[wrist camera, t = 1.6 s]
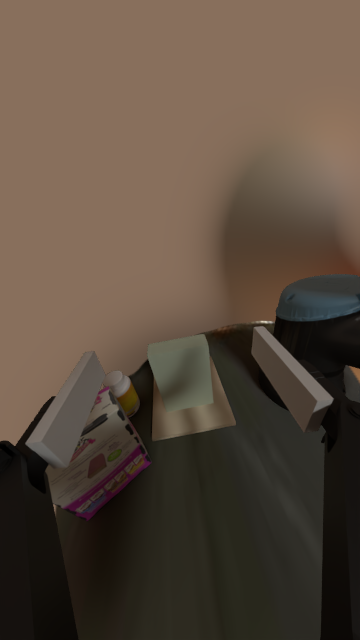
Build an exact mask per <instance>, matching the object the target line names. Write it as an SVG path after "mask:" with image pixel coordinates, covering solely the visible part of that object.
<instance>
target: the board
mask: <svg viewBox="0 0 360 640" xmlns="http://www.w3.org/2000/svg"><path fill="white" fill-rule="evenodd" d="M209 359H210V370H211V381H212V391H213V402H214V403H212V404H206V405H201V406H196V407H191V408H186V409H181V410H176V411H171V412H167V411H166V409H165V406H164V403H163V400H162V397H161V394H160V391H159V389H158V386H157V383H156V380H155V377H154V392H153V420H152V440H153V441H157V440H162V439H167V438H173V437H178V436H183V435H188V434H193V433H198V432H203V431H208V430H213V429H218V428H223V427H228V426H234V425H236V421H235V419H234V416H233V413H232V411H231V408H230V405H229V403H228V400H227V397H226V395H225V392H224V390H223V387H222V384H221V382H220V379H219V376H218V374H217V371H216V368H215V366H214V363H213V361H212V358H211V356H210V357H209Z"/></svg>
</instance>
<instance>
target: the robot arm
mask: <svg viewBox="0 0 360 640" xmlns="http://www.w3.org/2000/svg"><path fill="white" fill-rule="evenodd" d="M251 354H252V355H253V357H254V358H255V360H256V361H257V363H258V364H259V366H260V369H259V382H260V384H261V387H262V388H263V390H264V391H265V393H266V394H267V395H268V396H269V397H270V398H271V399H272V400H273V401H274V402H275V403H277V404H278V405H280V406H281V407H283V408H285V409H287V410H289V411H290V413H291V414H292V416H293V417H294V419H295V420H296V422H297V423H298V425H299V426H300V428H301V429H302V431H303V432H304V433H307V432H314V431H318V430H319V428H320V426H321V425H322V426H323V428H324V429H325V430H326V433H325V435H324V436H323V438H322V441H321V443H324V442H325V460H324V510H323V560H322V610H321V638H320V640H360V403H358V402H355V401H351V400H349V399H348V398H347V397H346V396H345V394H346V391H345V385H344V382H343V380H344V372H343V370H344V368H345V366H346V365H348V366H352V367H355V368H359V369H360V277H358V276H357V275H347V274H345V275H344V274H334V275H322V276H314V277H309V278H305V279H301V280H298V281H296V282H294V283H292V284H290V285H288V286H287V287H286V288H285V289H284V290H283V291H282V293H281V296H280V300H279V304H278V307H277V309H276V321H275V327H274V334H273V336H272V335H271V334H270V333H269V332H268V331H267V330H266V328H265V327H264V326H260V327H254V331H253V341H252V351H251ZM104 378H105V372H104V370H103V368H102V366H101V364H100V362H99V360H98V358H97V356H96V354H95V352H94V351H91V352H85V353H84V354H83V356H82V357H81V359H80V361H79V362H78V364H77V365H76V367H75V368H74V370H73V372H72V373H71V374H70V376H69V378H68V379H67V380H66V382H65V384H64V385H63V387H62V388H61V390H60V391H59V393H58V394H57V396H53V397H51V398H50V399H49V400H48V401H47V402H46V403H45V404H44V405H43V407H42V408H41V409H40V411H39V412H38V414H37V415H36V417H35V418H34V421H32V422H31V424H30V425H29V427H28V429H27V430H26V431H25V433H24V434H23V436H22V437H21V438H20V440H19V441H18V443H17V444H16V446H14V445H12V444H11V443H10V442H9V441H1V442H0V640H78V635H77V629H76V624H75V619H74V613H73V608H72V603H71V597H70V592H69V587H68V581H67V576H66V571H65V565H64V560H63V555H62V550H61V544H60V539H59V534H58V528H57V523H56V518H55V512H54V507H53V502H52V496H51V491H50V486H49V481H48V475H47V473H46V472H45V470H46V468H47V466H48V464H49V465H50V466H51V467H52V468H53V469H58V468H65V467H68V465H69V463H70V460H71V458H72V455H73V453H74V451H75V448H76V446H77V443H78V441H79V438H80V436H81V434H82V431H83V429H84V426H85V424H86V421H87V419H88V417H89V414H90V412H91V409H92V407H93V405H94V402H95V400H96V397H97V395H98V392H99V390H100V388H101V385H102V383H103V380H104Z"/></svg>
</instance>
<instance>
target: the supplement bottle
mask: <svg viewBox="0 0 360 640" xmlns="http://www.w3.org/2000/svg"><path fill="white" fill-rule="evenodd" d="M103 385H104V388H106V387H107V386H109V387H110V388H111V390H112V392H113V393H114V395H115V397H116V398H117V400H118V402H119V403H120V405H121V407H122V408H123V410H124V412H125V413H126V415H127V417H128V418H129V417H131V416H133V415H134V414H135V413H136V412H137V410H138V409H139V406H140V400H139V398H138V396H137V393H136V391H135V389H134V387H133V385H132V383H131V381H130V379H129V377H128V376H126V375H123V374H122V372H121V371H119V370H115V371H112V372H110V373H108V374H107V375H106V376H105V378H104V380H103Z"/></svg>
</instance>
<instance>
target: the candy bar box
mask: <svg viewBox="0 0 360 640" xmlns="http://www.w3.org/2000/svg"><path fill="white" fill-rule="evenodd" d="M151 463H152V461H151V459H150V457H149V455H148V453H147V450H146V448H145V446H144V444H143V442H142V440H141V438H140V436H139V435H138V433H137V432H136V430H135V428H134V426H133V425H132V423H131V422H130V420H129V418H128V417H127V415H126V413H125V412H124V410H123V408H122V407H121V405H120V403H119V402H118V400H117V398H116V397H115V395H114V393H113V392H112V390H111V388H110V387H109V386H107V387H106V388H104V389H103V390H101V391H99V392H98V395H97V397H96V400H95V402H94V405H93V407H92V409H91V412H90V414H89V417H88V419H87V421H86V424H85V426H84V429H83V431H82V434H81V436H80V438H79V441H78V443H77V446H76V448H75V451H74V453H73V455H72V458H71V460H70V463H69V465H68V467H65V468H58V469H53V468H52V467H51V466H50V465H49V464H48V466H47V468H46V470H45V472H46V473H47V475H48V481H49V486H50V491H51V496H52V502H53V504H55V505H57V506H59V507H61V508H63V509H65V510H67V511H68V512H70V513H72V514H74V515H76V516H78V517H80V518H81V519H83V520H85V521H88V520H89V519H90V518H91V517H93V516H94V515H95V514H96V513H97V512H98V511H99V510H100V509H101V508H102V507H103V506H104V505H106V504H107V503H108V502H109V501H110V500H111V499H112V498H113V497H114V496H115V495H116V494H118V493H119V492H120V491H121V490H122V489H123V488H124V487H125V486H126V485H128V484H129V483H130V482H131V481H132V480H133V479H134V478H135V477H136V476H137V475H139V474H140V473H141V472H142V471H143V470H144V469H145V468H146V467H147V466H148V465H150V464H151Z"/></svg>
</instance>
